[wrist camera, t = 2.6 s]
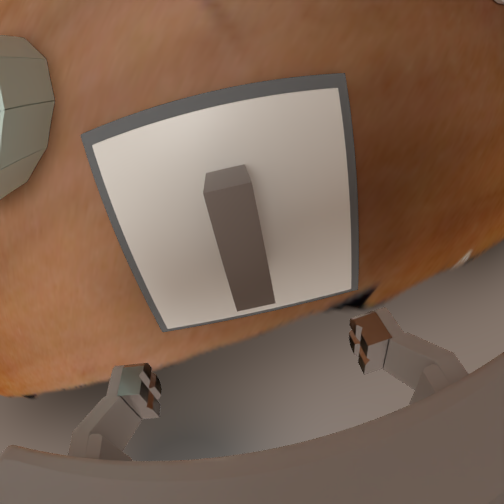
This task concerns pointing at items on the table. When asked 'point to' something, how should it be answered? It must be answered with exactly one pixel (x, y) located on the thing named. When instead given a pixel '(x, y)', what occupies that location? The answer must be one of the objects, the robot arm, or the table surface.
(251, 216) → the cover
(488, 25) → the table surface
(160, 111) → the mat
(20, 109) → the bowl
